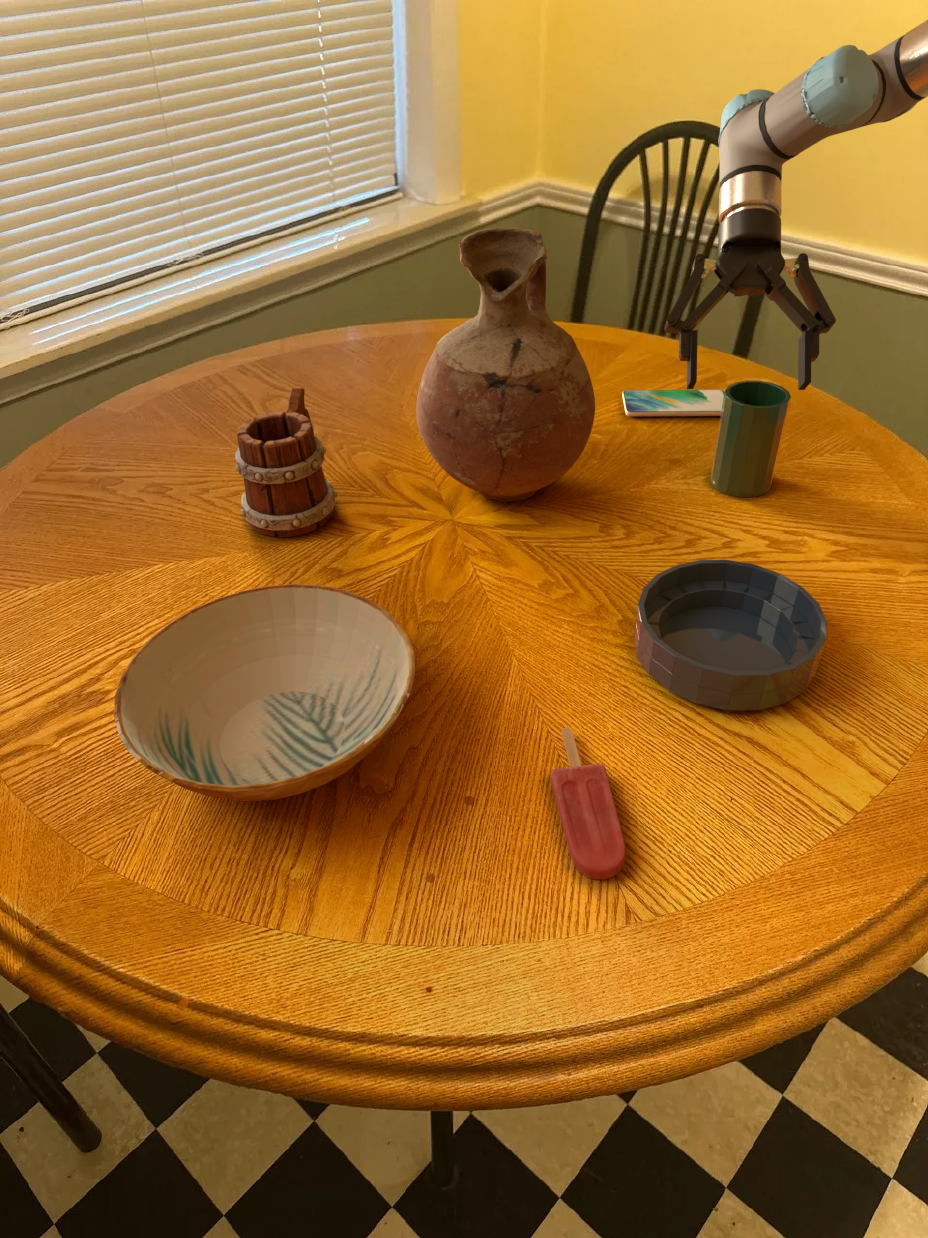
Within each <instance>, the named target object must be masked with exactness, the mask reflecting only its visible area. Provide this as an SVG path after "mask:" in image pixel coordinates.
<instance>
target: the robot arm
mask: <svg viewBox="0 0 928 1238" xmlns="http://www.w3.org/2000/svg"><path fill="white" fill-rule="evenodd" d="M926 98H928V19H927V20H925V21H923V22H922V23H919V24H918V25H917V26H914V28H912V29H910V30H909V31H907V32H906V33H905V34H903V35H901V36H899V37H897V38H896V39H895V40H893V41H891V42H890V43H888V44H886V45H885V46H883V47H882V48H880V49H878V50H877V51H875V52H873V53H871V54H870V53H869V54H868V53H867V52H866V51H865V50H863V49H859V48H858V47H857V46H856V45H855V44H846V45H842V46H840V47H838V48H836V49H835V50H833V51H832V52H830V53H829V54H828V55H826V56H821V57H820V58H818V59H817V60H816V61H814V63H813V64H812V65H810V67H809V68H807V69H806V70H804V71H803V72H802V73H800V74H799V75H798V76H797V77H795V78H794V79H792V80H791V81H789V82H788V83H787V84H786V85H784V86H782V88H780V89H779V90H778V91H776V92H774V91H771V90H770V89H769V90H768V89H764V88H763V89H759V88H758V89H757V88H756V89H751V90H749V91H748V93H744V94H743V93H740V94H738V95H736V96H734V97H733V98H732V99H730V100H729V102H728V103H727V104H726V105H725V107H724V109H723V110H722V113H721V117H720V128H719V135H718V138H717V139H718V140H717V141H718V152H719V153H718V154H719V187H718V196H719V197H718V224H719V225H718V230H717V231H718V233H717V235H718V236H717V237H718V238H717V239H718V240H717V258H716V259H713V258H706V256H705V255H704V254H703V253H697V254H696V255H695V258H694V261H693V264H692V266H691V272H690V277H689V278H688V280H687V282H686V284H685V285H684V287H683V289H682V291H681V293H680V295H679V297H678V298H677V300H676V302H675V304H674V306H673V308H672V310H671V311H670V313H669V315H668V317H667V319H666V322H665V325H664V329H663V330H664V332H665V333H667V334H671V333H672V334H675V335H677V339H678V359H679V362H686V390H694V389H695V386H696V384H697V382H698V335H699V334H698V333H699V331H698V329H696V328H697V326H698V325H699V324H700V323H701V322H702V321H703V320H704V319H705V318H706V317H707V315H709V313H710V312H711V311H712V310H713V309H714V308H715V307H716V305H717V304H719V302H720V301H722V300H723V299H724V298H725V297H726V295H727V294H728V293H730V294H732V295H733V296H734V297H743V296H750V297H760V296H761V295H765V297H766V298H767V299H768V300H770V301H773V302H774V303H775V305H777V307H778V308H779V309H780V310H781V311H782V312H783V313H784V314H785V315H786V316H787V318H788V319H789V320H790V321H791V322H792V323H793V324H794V325H795V327H796V328H797V329H798V330H799V331H800V332H801V335H800V337H799V338H798V340H797V341H798V342H797V343H798V345H797V346H798V349H797V351H798V352H797V359H798V360H797V362H798V363H797V390H798V391H805V390H806V389H807V388H808V387H809V385H810V384H811V383H812V363H814V362H816V360H817V359H818V358H819V356H820V335H821V334H827V333H828V332H830V330H831V329H832V328H833V327H834V325H835V323H836V322H837V319H836V317H835V315H834V313H833V311H832V309H831V308H830V305H829V304H828V302H827V300H826V298H825V296H824V294H823V292H822V290H821V288H820V287H819V285H818V283H817V281H816V279H815V277H814V276H813V274H812V272H811V270H810V269H811V268H810V261H809V256H808V254H807V253H805V252H802V253H800V254H798V255H797V257H793V258H785V257H784V256H783V254H782V218H781V215H782V179H783V165H784V164H785V163H787V162H788V161H789V160H791V159H793V158H795V157H797V156H799V155H801V153H803V152H804V151H806V150H807V149H809V148H811V147H813V146H815V145H816V144H818V143H819V142H822V141H823V140H824V139H825V140H826V139H827V138H829V137H832V136H835V135H839V134H843V133H847V132H849V131H853V130H857V129H860V128H863V127H866V126H870V125H874V124H880V123H887V122H890V121H893V120H895V119H897V118H899V117H901V116H902V115H904V114H907V113H909V112H910V111H911V110H912V109H914V107H915V106H917V104H918V103H919V102H921V101H922V100H924V99H926ZM712 271H713V273H714V274H715V276H716V277H717V278H718V280H719V281H718V282H717V284H716V285H715V287H714V288H713V289H711V291H710V292H709V293H708V294H707V295H706V296H705V297H704V298H703V300H702V301H700V303H699V304H698V305H697V306H696V307H695V308H694V309H693V310H692V312H691V313H690V314H689V315H688V316H687V317H686V318H685V319H684V320H682V319H681V317H682V316H683V314H684V312H685V310H686V308H687V307H688V305H689V303H690V302H691V299H692V298H693V296H694V294H695V292H696V290H697V288H698V286H699V284H700V281H701V279H704V278H706V277H708V275H709V273H710V272H712ZM783 271H785V272H787V273H788V276H789V278H791V279H793V281H794V284H795V287H796V288H797V290H798V292H799V295H800V297H801V298H802V300H803V302H804V303H803V302H802V301H801V300H800V299H799V298H798V297H797V295H796V294H795V293H793V291H792V290H791V289H790V287H788V286H787V282H786V280H785V279H784V278H783V277H782V275H781V274H782V272H783ZM804 304H805V305H804Z"/></svg>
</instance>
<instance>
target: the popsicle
mask: <svg viewBox="0 0 928 1238" xmlns="http://www.w3.org/2000/svg"><path fill="white" fill-rule="evenodd" d="M561 737H562V740H563V741H562V742H563V745H564V749H565V752H566V753H565V754H566V756H567V760H568V764H569V767H567V766H566V767H560V768H559V767H558V768H553V769H552V770H551V772H550V773H551V774H550V785H551V789H552V792H553V796H554V800H555V803H556V807H557V811H558V815H559V818H560V822H561V823H560V824H561V826H562V830H563V833H564V837H565V842H566V843H567V849H568V852H569V855H570V859H571V862H572V864H573V866H574V867H575V868H576V870H577V871H578V872H579V873H580V874H582V875H583V876H585V877H588V878H589V879H592V880H593V879H594V880H608V879H611V878H613V877H615V876H617V875H618V874H619V873H620V872H621V871H622V870H623V868H624V866H625V862H626V855H627V847H626V841H625V837H624V833H623V829H622V826H621V821H620V818H619V815H618V810H617V807H616V802H615V799H614V796H613V792H612V789H611V785H610V781H609V777H608V772H607V769H606V766H605V764H603V763H597V764H596V763H595V764H587V765H586V764H585V765H583V764H582V762H581V758H580V755H579V754H580V753H579V751H578V747H577V744H576V740H575V735H574V733H573V730H572V729H571V728H570V727H563V728H562V730H561Z"/></svg>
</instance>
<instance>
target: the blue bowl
mask: <svg viewBox="0 0 928 1238" xmlns="http://www.w3.org/2000/svg"><path fill="white" fill-rule="evenodd" d="M634 623H635V624H634V633H633V643H634V648H635V654H636V658H637V659H638V661H639V662H640V664H641V666H642V667H643V668H644V670H645V671H646V673H647V675H648V676H650V677H651V678H652V679H653V680H655V681H656V682H657V683H658V684H660V685H661V686H662V687H664V688H665V689H666V690H667V691H669V692H670V693H672V694H674V695H677V696H679V697H680V698H683V699H685V700H687V701H689V702H691V703H694V704H697V705H700V706H706V707H710V708H715V709H720V710H725V711H761V710H765V709H768V708H772V707H777V706H781V705H784V704H786V703H788V702H790V701H791V700H793V699H794V698H796V697H798V696H799V695H800V694H803V693H804V692H805V691H806V690H807V689H808V687H809V686H810V684H811V682H812V681H813V679H815V677H816V674H817V673H818V669H819V665H820V663H821V659H822V655H823V652H824V649H825V646H826V643H827V637H828V636H827V635H828V620H827V618H826V615H825V613H824V611H823V608H822V606H821V605H820V603H819V601H817V599H815V597H814V596H813V595H811V593H809V592H808V590H807V589H805V587H804V586H803V585H801V584H799V583H797V582H796V581H794V580H792V579H791V578H789V577H787V576H785V575H784V574H782V573H780V572H777V571H775V570H772V569H769V568H766V567H763V566H761V565H757V564H755V563H750V562H749V563H748V562H744V561H736V560H733V559H698V560H694V561H689V562H684V563H679V564H675V565H673V566H671V567H669V568H666V569H665V570H662V571H661V572H658V573H656V575H654V576H653V578H652V579H651V580H649V582H648V583H647V584H645V586H643V588H642V589H641V592H640V596H639V599H638V602H637V607H636V616H635V622H634Z"/></svg>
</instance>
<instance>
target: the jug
mask: <svg viewBox="0 0 928 1238" xmlns="http://www.w3.org/2000/svg"><path fill="white" fill-rule="evenodd" d="M544 245H545V244H544V241H543V235H542V234H541V233H539V232H538V231H536V230H532V229H529V228H528V229H527V228H522V227H500V226H496V227H490V228H484V229H480V230H476V231H474V232H471V233H468V234H467V235H466V236H464V237H462V239H461V240H460V242H459V244H458V246H459V247H458V248H459V260H460V264H461V265H462V266H464V268H466V269H467V271H468V273H469V275H470V277H472V278H473V279H474V280H475V281H476V282H477V283H478V285H479V289H480V300H479V301H480V302H479V308H478V311H477V314H476V315H475V316H473V317H471V318H469V319H467V320H466V321H464V322H462V323H461V324H459V325H458V326H456V327H455V328H452V329H451V330H450V331H448V332H447V333H446V334H445V335H443V336H441V338H440V339H439V340H438V341H437V342H436V345H435V347H434V350H433V352H432V353H431V355H430V357H429V359H428V361H427V363H426V365H425V368H424V371H423V374H422V376H421V379H420V384H419V389H418V392H417V396H416V408H415V417H416V424H417V427H418V430H419V434H420V436H421V438H422V440H423V443H424V445H425V447H426V448H427V450H428V451H429V453H430V454H431V456H432V458H433V459H434V460H435V462H436V463H437V464H438V466H439V467H440V468H441V469H442V470H443V471H444V472H445V473H446V474H447V475H449V476H450V477H451V478H452V479H454V480H455V481H457V482H458V483H460V484H462V485H464V486H465V487H467V488H468V489H469V488H470V489H472V490H474V491H477V492H479V493H480V494H482V495H483V496H485V498H486V499H492V500H496V501H499V502H513V501H521V500H524V499H525V500H526V499H528V498H530V497H532V496H534V495H535V494H536V493H537V492H538V491H539V490H540V489H543V488H545V487H548V486H549V485H551V484H554V483H555V482H557V481H558V480H559V479H561V478H562V477H563V476H564V475H565V474H566V473H567V472H568V471H569V470H570V469H571V468H572V467H573V466H574V464H575V463H576V462H577V460H578V459H579V457H580V456H581V455H582V453H583V451H584V450H585V448H586V445H587V444H588V441H589V438H590V436H591V433H592V430H593V426H594V421H595V415H596V398H595V391H594V386H593V383H592V378H591V375H590V372H589V369H588V367H587V365H586V362H585V359H584V358H583V356H582V354H581V352H580V350H579V348H578V346H577V344H576V342H575V340H574V338H573V337H572V335H571V334H570V333H568V332H567V331H566V330H565V328H563V327H562V326H560V325H558V324H557V323H555V322H554V321H553V320H552V319H551V317H550V315H549V314H548V312H547V308H546V307H547V306H546V303H547V302H546V299H547V264H546V263H547V262H546V260H547V259H548V251H547V248H546V247H545V246H544Z"/></svg>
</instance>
